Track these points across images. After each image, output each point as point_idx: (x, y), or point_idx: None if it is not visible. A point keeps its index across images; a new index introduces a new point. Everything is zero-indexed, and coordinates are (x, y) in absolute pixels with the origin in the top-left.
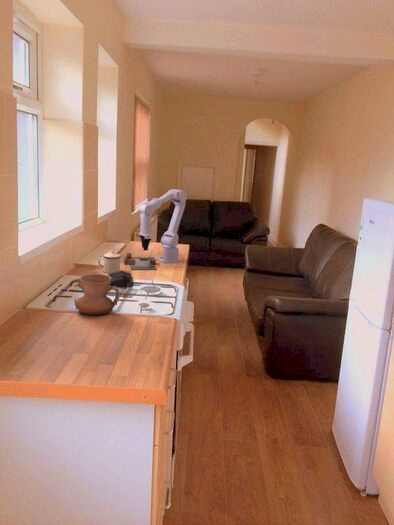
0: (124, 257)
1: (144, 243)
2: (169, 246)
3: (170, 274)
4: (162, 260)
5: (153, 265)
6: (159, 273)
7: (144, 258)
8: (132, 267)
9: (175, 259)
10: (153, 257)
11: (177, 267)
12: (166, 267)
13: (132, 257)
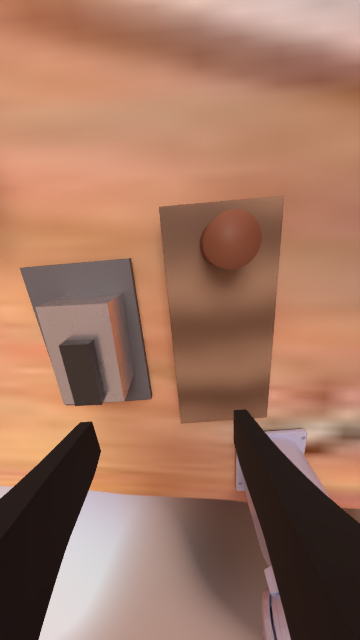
0: (257, 200)
1: (12, 535)
2: (277, 588)
3: (7, 451)
4: (274, 435)
5: (148, 394)
6: (6, 412)
7: (81, 378)
8: (64, 276)
9: (247, 495)
10: (261, 412)
11: (150, 479)
12: (141, 442)
13: (259, 275)
